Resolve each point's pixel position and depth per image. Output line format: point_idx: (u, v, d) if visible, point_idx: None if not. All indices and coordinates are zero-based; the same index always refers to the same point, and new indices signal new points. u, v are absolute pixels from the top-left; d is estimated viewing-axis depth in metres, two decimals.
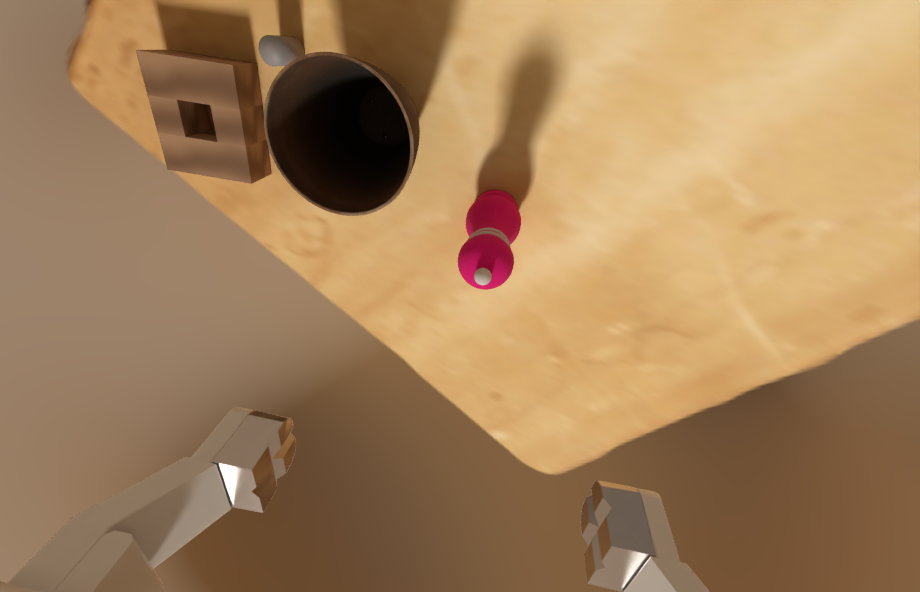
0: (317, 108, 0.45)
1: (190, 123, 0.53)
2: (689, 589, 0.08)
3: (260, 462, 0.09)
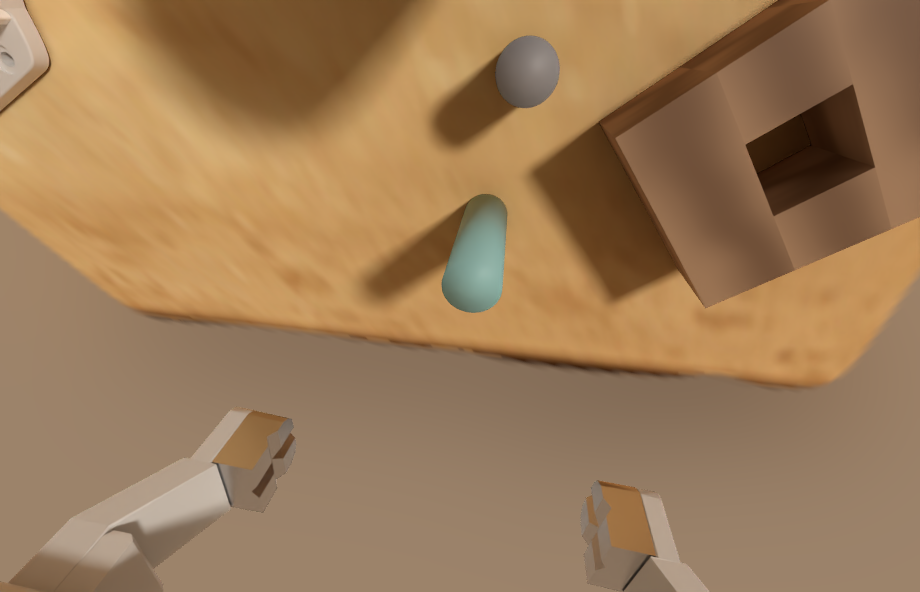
0: None
1: (822, 176, 0.21)
2: (689, 588, 0.08)
3: (260, 462, 0.09)
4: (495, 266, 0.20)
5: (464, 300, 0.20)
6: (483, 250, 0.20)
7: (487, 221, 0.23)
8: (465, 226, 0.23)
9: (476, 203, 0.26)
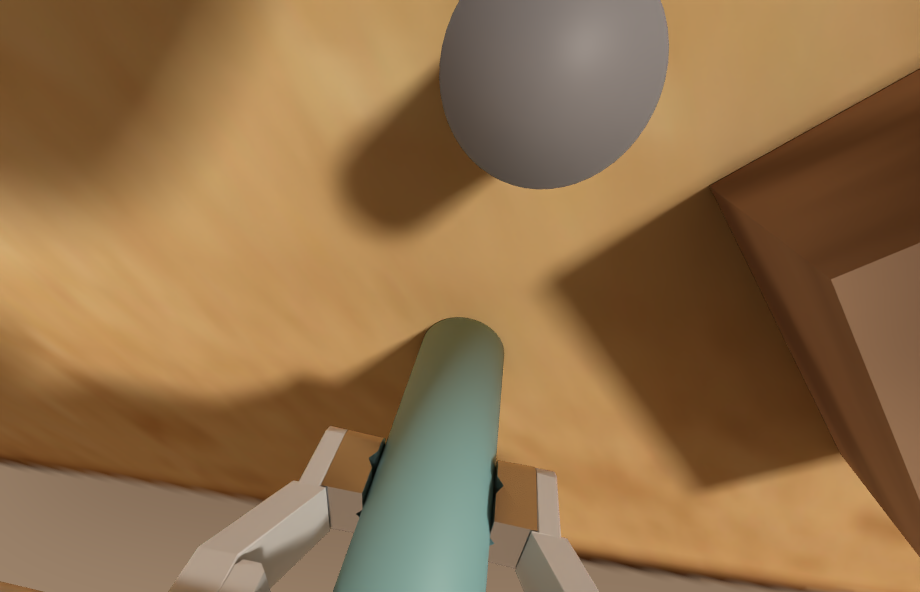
0: None
1: None
2: (563, 561, 0.08)
3: (366, 484, 0.09)
4: None
5: None
6: None
7: (449, 433, 0.10)
8: (396, 448, 0.10)
9: (437, 349, 0.13)
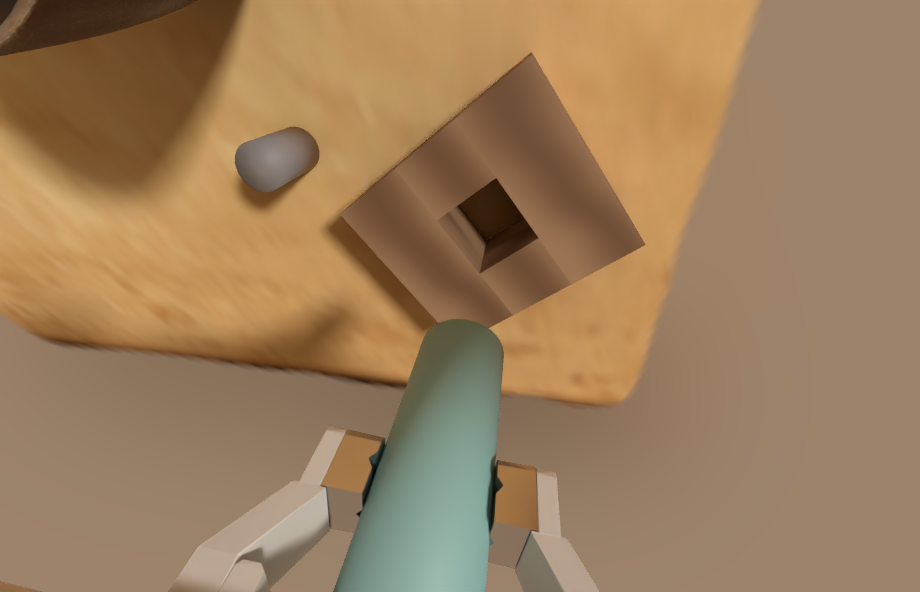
0: None
1: (519, 240, 0.26)
2: (562, 561, 0.08)
3: (366, 484, 0.09)
4: None
5: None
6: None
7: (448, 435, 0.10)
8: (396, 450, 0.10)
9: (437, 351, 0.13)
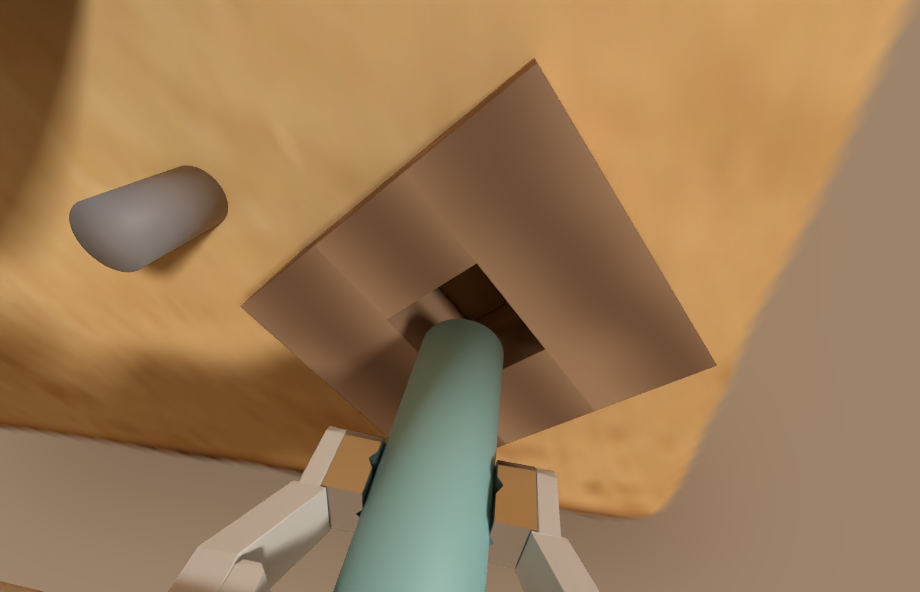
0: None
1: (515, 341, 0.17)
2: (562, 562, 0.08)
3: (366, 484, 0.09)
4: None
5: None
6: None
7: (448, 435, 0.10)
8: (396, 450, 0.10)
9: (437, 351, 0.13)
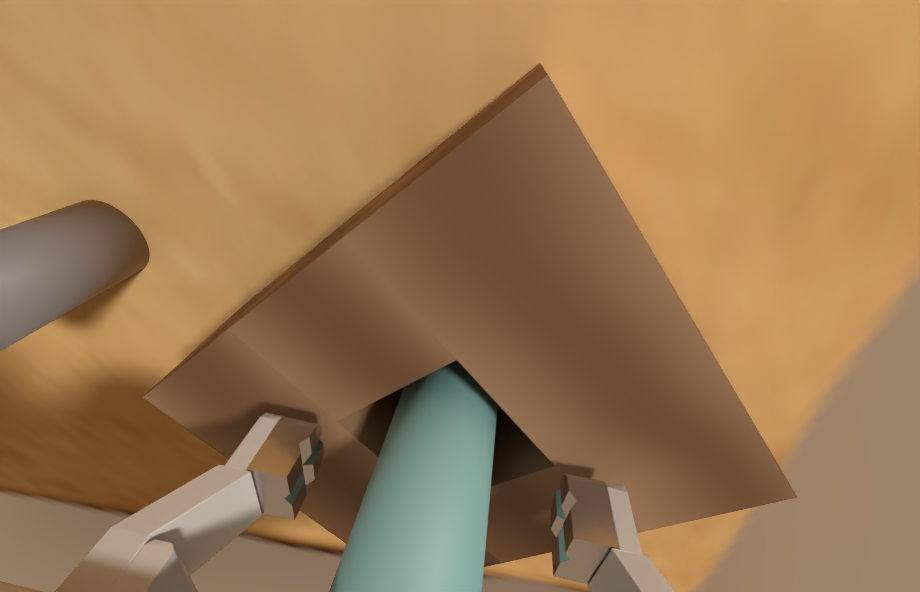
0: None
1: (513, 439, 0.13)
2: (648, 580, 0.08)
3: (294, 469, 0.09)
4: None
5: None
6: (421, 568, 0.07)
7: (452, 403, 0.11)
8: (404, 416, 0.11)
9: None
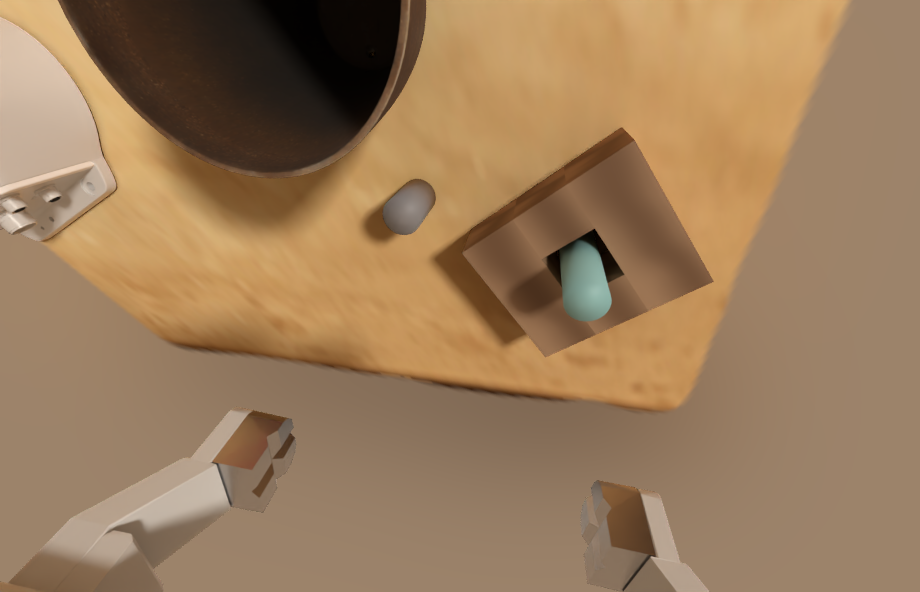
0: (374, 107, 0.24)
1: None
2: (689, 588, 0.08)
3: (260, 462, 0.09)
4: (606, 286, 0.26)
5: (579, 312, 0.26)
6: (595, 274, 0.26)
7: (588, 248, 0.29)
8: (571, 253, 0.29)
9: None
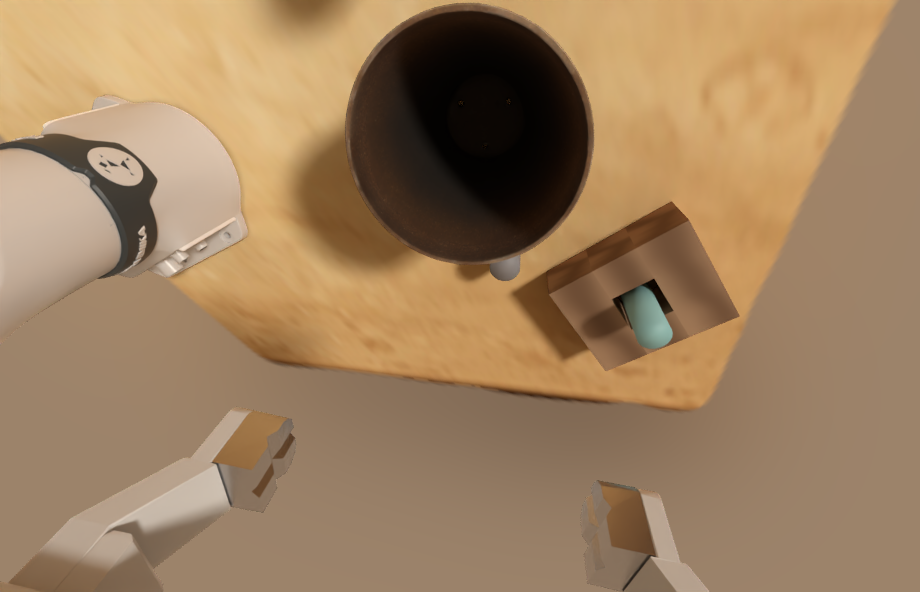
0: (507, 199, 0.34)
1: None
2: (689, 588, 0.08)
3: (260, 462, 0.09)
4: None
5: (648, 342, 0.36)
6: (659, 315, 0.36)
7: (647, 292, 0.39)
8: (635, 295, 0.39)
9: None
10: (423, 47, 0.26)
